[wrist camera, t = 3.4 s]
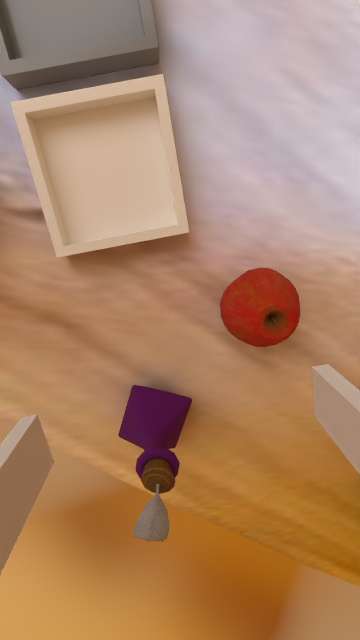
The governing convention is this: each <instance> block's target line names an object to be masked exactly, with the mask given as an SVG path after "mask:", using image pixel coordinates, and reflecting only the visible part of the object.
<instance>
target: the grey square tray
mask: <svg viewBox="0 0 360 640" xmlns="http://www.w3.org/2000/svg"><path fill="white" fill-rule="evenodd" d="M157 63H159V45H158V39H157V33H156V27H155V21H154V15H153V9H152V3H151V0H0V71H1V74H2V76H3V77H4V78H5V79H6V80H7V81H8V82H9V83H10V84H11V85H12V86H13V87H14V88H15V89H22V88H28V87H33V86H39V85H44V84H49V83H55V82H60V81H66V80H71V79H76V78H82V77H87V76H92V75H98V74H103V73H109V72H114V71H119V70H125V69H130V68H136V67H141V66H146V65H152V64H157Z"/></svg>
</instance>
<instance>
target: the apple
mask: <svg viewBox="0 0 360 640" xmlns="http://www.w3.org/2000/svg"><path fill="white" fill-rule="evenodd" d="M220 308H221V317H222V320H223V322H224V324H225V326H226V328H227V330H228V331H229V332H230V333H231V334H233V335H234V336H235V337H236V338H238V339H239V340H241V341H243V342H245V343H248V344H250V345H253V346H256V347H267V346H272V345H276V344H278V343H280V342H282V341H283V340H285V339H287V338H288V337H289V336H290V335H291V334H292V333H293V332H294V331H295V329H296V327H297V325H298V322H299V317H300V304H299V296H298V293H297V291H296V288H295V287H294V286H293V284H292V283H291V282H290V281H289V280H288V279H287V278H285V277H284V276H283V275H281V274H280V273H278V272H277V271H275V270H272V269H269V268H257V269H253V270H249V271H247V272H245V273H244V274H243V275H241V276H240V277H238V278H237V279H236V280H235V281H234V282H232V283H231V284H230V285H229V286H228V287H227V289H226V290H225V292H224V293H223V296H222V299H221V302H220Z"/></svg>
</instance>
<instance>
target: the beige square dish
mask: <svg viewBox="0 0 360 640" xmlns="http://www.w3.org/2000/svg"><path fill="white" fill-rule="evenodd" d="M10 104H11V107H12V110H13V114H14V117H15V120H16V124H17V127H18V130H19V134H20V137H21V140H22V144H23V147H24V150H25V153H26V157H27V160H28V163H29V167H30V170H31V173H32V177H33V180H34V183H35V187H36V190H37V193H38V197H39V200H40V203H41V207H42V210H43V213H44V217H45V220H46V223H47V226H48V230H49V233H50V236H51V240H52V243H53V246H54V250H55V253H56V256H57V258H58V257H63V256H68V255H73V254H79V253H84V252H89V251H94V250H100V249H105V248H110V247H115V246H121V245H126V244H131V243H136V242H142V241H147V240H152V239H157V238H163V237H168V236H173V235H178V234H184V233H189V227H188V221H187V215H186V209H185V203H184V197H183V191H182V185H181V179H180V173H179V167H178V160H177V154H176V148H175V142H174V136H173V130H172V124H171V118H170V112H169V106H168V100H167V94H166V88H165V82H164V76H163V74H159V75H154V76H148V77H143V78H137V79H132V80H127V81H121V82H116V83H111V84H105V85H100V86H94V87H89V88H84V89H78V90H73V91H67V92H62V93H57V94H51V95H46V96H41V97H35V98H30V99H24V100H19V101H14V102H10Z"/></svg>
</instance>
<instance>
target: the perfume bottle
mask: <svg viewBox="0 0 360 640" xmlns="http://www.w3.org/2000/svg"><path fill="white" fill-rule="evenodd" d="M191 402H192V399H191V398H189V397H185V396H181V395H178V394H174V393H170V392H166V391H161V390H157V389H153V388H148V387H143V386H137V385H133V387H132V389H131V393H130V396H129V400H128V403H127V407H126V410H125V414H124V417H123V421H122V424H121V428H120V431H119V437H120V438H123V439H125V440H127V441H129V442H131V443H133V444H135V445H137V446H139V447H141V448H143V449H144V450H145V451H144V452H143V453H142V454H141V455H140V456H139V458H138V459H137V463H136V472H137V474H138V476H139V477H140V479H141V482H142V483H143V485H144V487H145V488H146V489H148V490H150V491H151V492H154V493H156V495H155V496H154V497H153V498H152V499H151V500H150V502H148V504H147V505H146V506H145V507H144V509H143V511H142V513H141V515H140V516H139V518H138V521H137V523H136V526H135V529H134V537H137V538H140V539H143V540H146V541H164V540H165V539H166V538H167V535H168V532H169V520H168V514H167V509H166V507H165V506H164V504H163V502H162V500H161V498H160V496H159V493H164V492H169V491H170V490H171V489H172V488H173V487H174V484H175V477H176V476H177V474H178V469H179V464H180V463H179V461H178V459H177V457H176V455H175V453H173V452H172V451H170V450H168V449H170V448H175V447H176V444H177V442H178V439H179V436H180V433H181V430H182V427H183V424H184V422H185V419H186V416H187V413H188V410H189V407H190V404H191Z"/></svg>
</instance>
